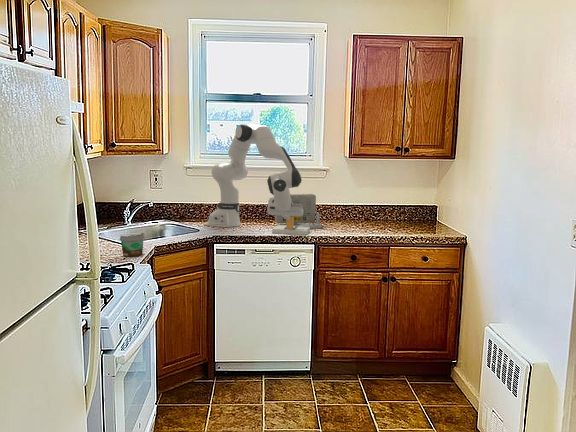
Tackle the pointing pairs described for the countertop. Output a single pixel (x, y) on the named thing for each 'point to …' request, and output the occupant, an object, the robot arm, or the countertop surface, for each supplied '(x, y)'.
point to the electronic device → (313, 225)
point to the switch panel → (291, 230)
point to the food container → (132, 245)
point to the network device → (308, 208)
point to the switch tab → (290, 222)
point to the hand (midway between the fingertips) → (286, 218)
